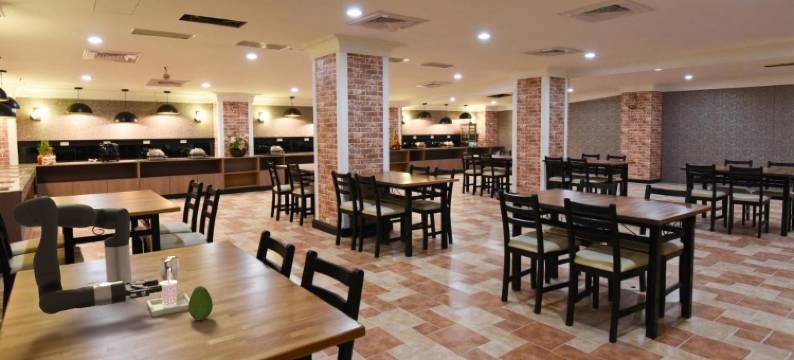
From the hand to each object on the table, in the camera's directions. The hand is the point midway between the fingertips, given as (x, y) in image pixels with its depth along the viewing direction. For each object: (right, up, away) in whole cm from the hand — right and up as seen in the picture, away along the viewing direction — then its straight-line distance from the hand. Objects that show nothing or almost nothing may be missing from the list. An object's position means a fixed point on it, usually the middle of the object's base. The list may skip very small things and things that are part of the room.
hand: (159, 285), depth 182 cm
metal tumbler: (-3, -8, +17) cm, 19 cm away
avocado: (+19, -10, -9) cm, 23 cm away
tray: (+3, -9, +3) cm, 10 cm away
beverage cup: (+2, -8, +3) cm, 9 cm away
